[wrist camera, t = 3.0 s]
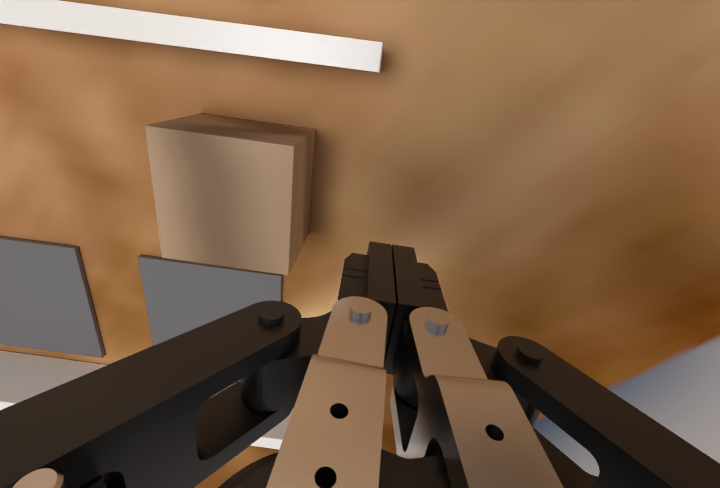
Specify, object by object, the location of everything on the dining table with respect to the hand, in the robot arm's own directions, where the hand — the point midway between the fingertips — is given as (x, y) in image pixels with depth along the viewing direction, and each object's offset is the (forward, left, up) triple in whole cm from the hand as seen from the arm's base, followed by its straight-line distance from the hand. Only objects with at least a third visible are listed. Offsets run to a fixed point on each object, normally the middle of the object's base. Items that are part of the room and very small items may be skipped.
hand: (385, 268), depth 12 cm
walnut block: (+7, 0, -9) cm, 11 cm away
